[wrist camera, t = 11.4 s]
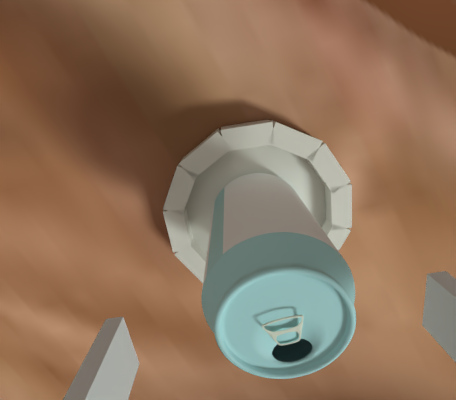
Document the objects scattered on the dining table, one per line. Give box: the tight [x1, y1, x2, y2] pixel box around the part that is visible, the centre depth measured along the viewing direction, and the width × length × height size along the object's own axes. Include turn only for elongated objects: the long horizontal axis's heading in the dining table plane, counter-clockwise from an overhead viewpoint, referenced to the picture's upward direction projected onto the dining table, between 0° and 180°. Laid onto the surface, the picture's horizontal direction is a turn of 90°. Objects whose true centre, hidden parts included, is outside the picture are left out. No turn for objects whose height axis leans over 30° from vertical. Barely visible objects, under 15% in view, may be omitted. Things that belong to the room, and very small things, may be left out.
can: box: [202, 173, 356, 379], centre depth 17 cm, size 7×7×12 cm
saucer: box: [163, 119, 352, 283], centre depth 22 cm, size 14×14×2 cm
